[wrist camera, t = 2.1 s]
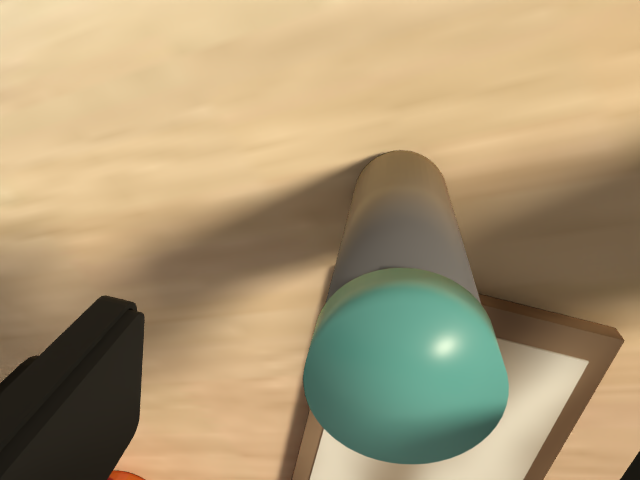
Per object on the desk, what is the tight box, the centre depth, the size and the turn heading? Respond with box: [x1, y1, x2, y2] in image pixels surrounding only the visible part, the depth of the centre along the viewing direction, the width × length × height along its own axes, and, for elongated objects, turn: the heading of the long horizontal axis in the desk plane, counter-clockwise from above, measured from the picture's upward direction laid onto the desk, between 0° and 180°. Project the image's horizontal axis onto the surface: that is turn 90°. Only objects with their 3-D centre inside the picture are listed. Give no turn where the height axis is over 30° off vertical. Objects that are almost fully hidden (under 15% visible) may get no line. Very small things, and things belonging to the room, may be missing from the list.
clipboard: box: [292, 294, 624, 480], centre depth 26 cm, size 13×16×2 cm
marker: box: [303, 150, 509, 465], centre depth 16 cm, size 4×4×13 cm
